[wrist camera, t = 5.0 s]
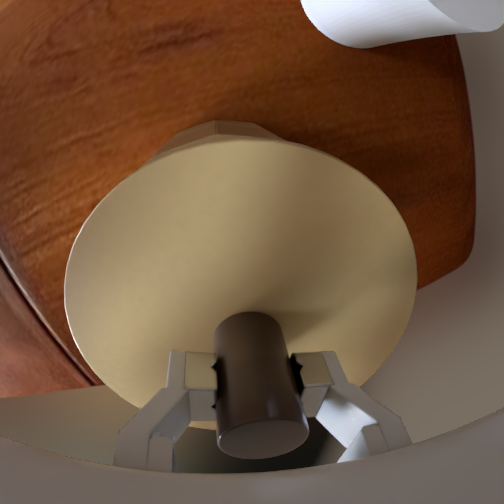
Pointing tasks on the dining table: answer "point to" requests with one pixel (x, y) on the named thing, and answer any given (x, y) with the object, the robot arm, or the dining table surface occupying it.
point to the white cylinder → (400, 19)
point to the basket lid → (241, 280)
